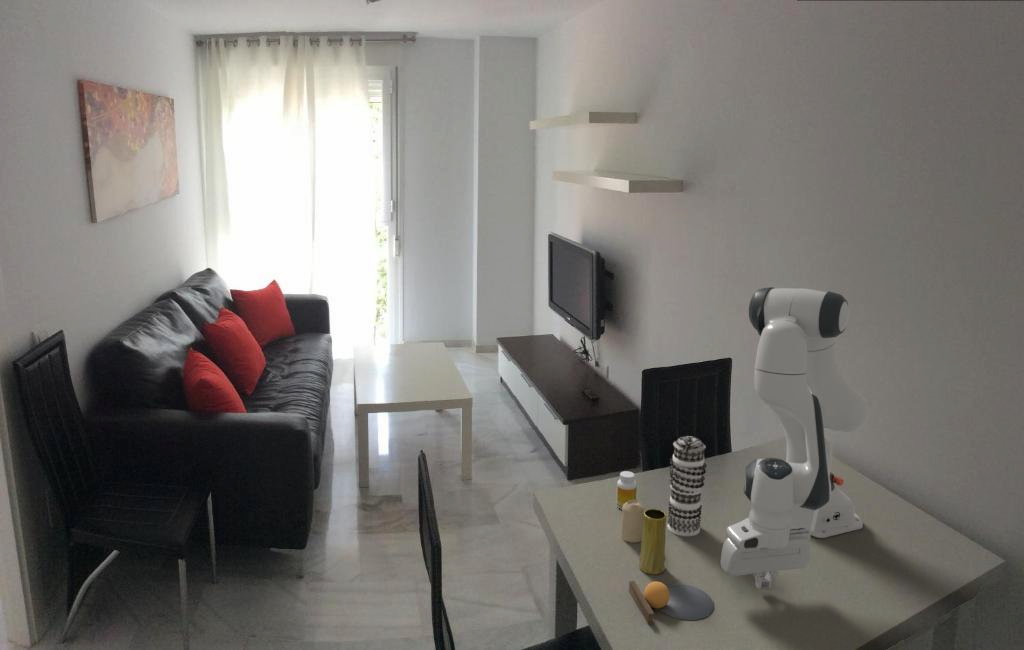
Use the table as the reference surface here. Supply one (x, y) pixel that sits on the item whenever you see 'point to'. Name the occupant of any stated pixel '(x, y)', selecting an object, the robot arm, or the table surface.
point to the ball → (656, 594)
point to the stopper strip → (641, 602)
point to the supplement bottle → (625, 488)
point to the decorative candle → (686, 486)
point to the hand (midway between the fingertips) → (762, 586)
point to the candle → (632, 521)
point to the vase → (653, 542)
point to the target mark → (687, 602)
